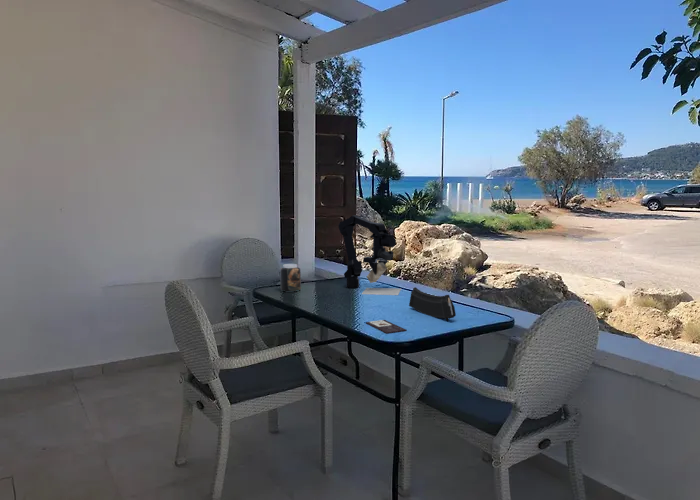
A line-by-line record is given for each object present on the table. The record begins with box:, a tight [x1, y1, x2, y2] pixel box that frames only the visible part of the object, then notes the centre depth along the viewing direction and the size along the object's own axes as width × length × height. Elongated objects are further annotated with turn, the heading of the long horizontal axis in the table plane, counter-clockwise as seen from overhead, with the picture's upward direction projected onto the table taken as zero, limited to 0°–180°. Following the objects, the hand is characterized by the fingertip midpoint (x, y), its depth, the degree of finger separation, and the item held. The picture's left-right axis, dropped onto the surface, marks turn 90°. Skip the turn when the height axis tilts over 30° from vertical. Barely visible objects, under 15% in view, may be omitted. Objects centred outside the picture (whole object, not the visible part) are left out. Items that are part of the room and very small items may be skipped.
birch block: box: [366, 262, 388, 284], centre depth 275 cm, size 4×4×12 cm
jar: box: [279, 263, 302, 291], centre depth 280 cm, size 12×12×15 cm
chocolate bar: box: [365, 319, 407, 335], centre depth 200 cm, size 9×1×18 cm
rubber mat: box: [361, 287, 402, 296], centre depth 273 cm, size 20×19×1 cm
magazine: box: [408, 287, 457, 322], centre depth 220 cm, size 17×3×30 cm
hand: (378, 273), depth 274 cm, fingers closed on birch block, 4 cm apart
